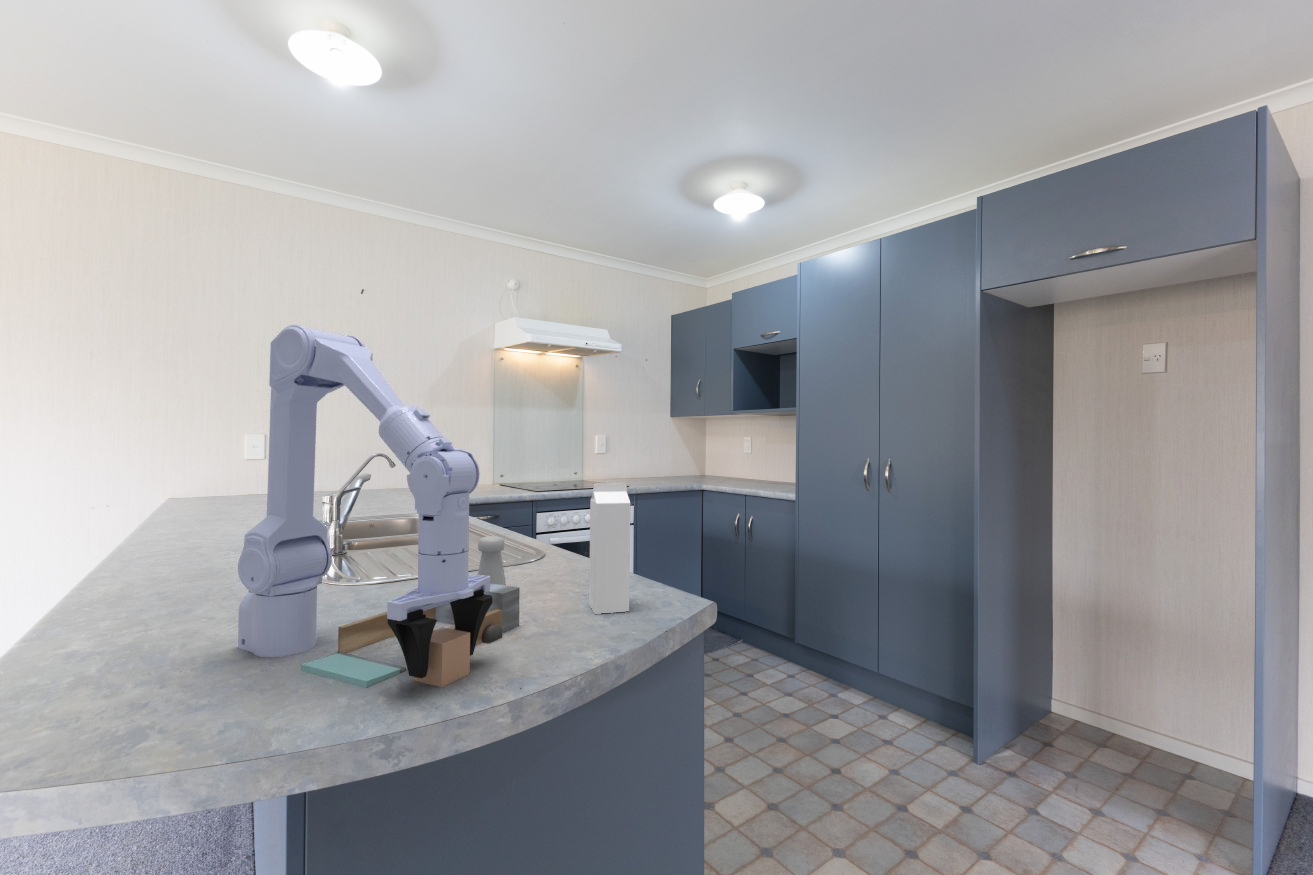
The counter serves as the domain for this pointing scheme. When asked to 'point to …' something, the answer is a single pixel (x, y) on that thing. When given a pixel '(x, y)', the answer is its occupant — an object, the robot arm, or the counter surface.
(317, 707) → the counter surface
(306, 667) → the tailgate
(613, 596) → the milk
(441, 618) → the flatbed
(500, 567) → the salt shaker
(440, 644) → the tan rectangular block
